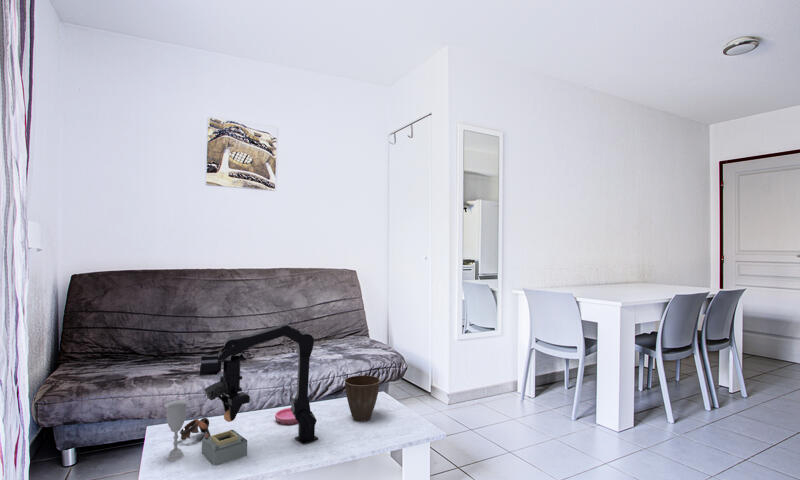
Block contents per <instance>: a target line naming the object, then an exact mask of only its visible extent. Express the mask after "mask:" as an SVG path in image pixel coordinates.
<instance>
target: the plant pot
mask: <svg viewBox="0 0 800 480" xmlns="http://www.w3.org/2000/svg"><path fill="white" fill-rule="evenodd" d="M380 383H381V379H380V378H379V377H377V376H373V375H365V374H364V375H363V374H362V375H360V374H359V375H352V376H349V377H347V378H345V379H344V387H345V394H346V400H347V403H348V407H349V410H350V414H351V417H352V420H354V421H356V422H368V421H370V420H371V418H372V416H373V413H374V410H375V407H376V404H377V403H376V402H377V399H378V394H379V390H380V389H379V388H380V385H381V384H380Z"/></svg>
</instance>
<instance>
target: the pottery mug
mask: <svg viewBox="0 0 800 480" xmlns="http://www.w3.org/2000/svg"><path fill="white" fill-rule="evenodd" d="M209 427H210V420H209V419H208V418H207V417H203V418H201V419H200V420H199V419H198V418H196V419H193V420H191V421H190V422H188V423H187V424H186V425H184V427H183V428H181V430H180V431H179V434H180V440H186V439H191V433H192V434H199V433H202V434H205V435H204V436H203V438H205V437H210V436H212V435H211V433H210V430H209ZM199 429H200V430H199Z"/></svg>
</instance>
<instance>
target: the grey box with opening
mask: <svg viewBox="0 0 800 480" xmlns="http://www.w3.org/2000/svg"><path fill="white" fill-rule="evenodd" d="M201 454H202V455H203V457H205V458H206V459H207V460H208V461H209V462H210V463H211V464H212V465H213V466H214V467H216V466H218V465H222V464H224V463H228V462H230V461H233V460H236V459H240V458H242V457H246V456H248V440H247V438H245V437H244V436H242V435H241V434H240V433H239V432H237V431H236V430H234V429H230V430H228V431H227V430H226V431H223V432H219V433H216V434H213V435H211V436H210V437H205V438H204V437H203V438H201Z"/></svg>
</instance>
